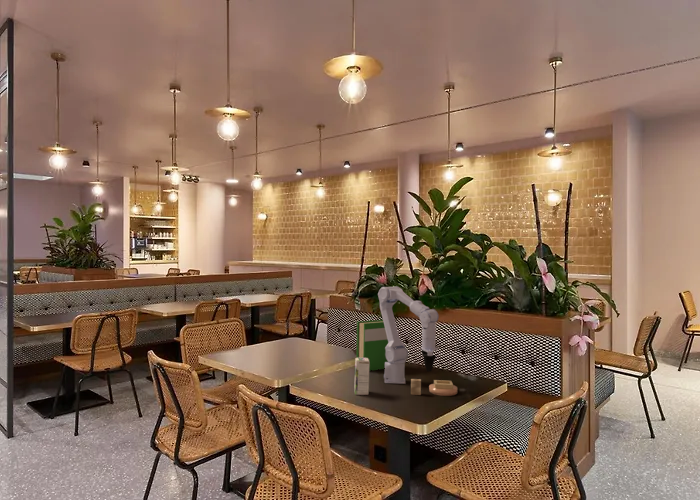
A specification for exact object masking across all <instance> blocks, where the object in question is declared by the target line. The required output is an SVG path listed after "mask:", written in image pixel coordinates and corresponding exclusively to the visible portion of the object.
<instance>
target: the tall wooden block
mask: <svg viewBox="0 0 700 500" xmlns="http://www.w3.org/2000/svg"><path fill="white" fill-rule="evenodd" d="M421 389H422V379H421V378H419V379H417V378H411V379H410V395H411V396H413V395H414V396H415V395H416V396H421V395H422V390H421Z"/></svg>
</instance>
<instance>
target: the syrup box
mask: <svg viewBox="0 0 700 500" xmlns="http://www.w3.org/2000/svg"><path fill="white" fill-rule="evenodd" d="M354 359H355V360H354V362H355V363H354V383H353V384H354V388H353V389H354V390H353V391H354V395H355V396H360V395H361V396H364V395H365V396H366V395H367V396H368V395H369V391H370V388H369V387H370V371H369V359H368V358H357V357H355V358H354Z"/></svg>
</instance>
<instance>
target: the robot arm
mask: <svg viewBox="0 0 700 500" xmlns="http://www.w3.org/2000/svg"><path fill="white" fill-rule="evenodd" d="M377 296H378V300H379V309H380V313H381V317H382V320H383V322H384V326H385V330H386V335H387V339H388V344H387V346H386V347H385V349H386V359H387V361H388V362H385V369H384V374H383V379H384V383H385V384H399V385H400V384H401V385H403V384H405V385H406V378H405V368H406V367H405V365H406V364H405V363H406V362H407V361H406V360H407V359H408V358H409V351H408V349H407V346H406V345H405V343H404V341H402V340H400V336H399V332H398V327H397V322H396V319H395V316H394V312H393V306H394V305H395V304H396V303H397V302H398V301H400V302H401V303H402V304H404V305H406V306H407V307H409V311H410V312H411V313H413V314H414V315H415V316H416V317H418V318H419V320H420V323H421V329H422V330H421V337H422V339H421V350H420V351H421V354H422V357H423V362H424V367H425V371H426V372H433V368H434V363H435V361H436V358H437V355H435V354H434V353H435V351H439V347H436V336H437V334H436V331H437V325H436V323H437V322H438V320H439V316H440V315H439V313H438V311H437V310H436V309H435V308H432V309H430V307H429V306H426V305H425V304H423V301H421V300H414V299H413V298H411V297H410V296H409V295H407V294H406V293H405V292H404V291H403V288H401V287H399V286H396V285H395V286H381V288H380V289H379V290H378V293H377Z"/></svg>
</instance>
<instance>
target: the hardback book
mask: <svg viewBox="0 0 700 500" xmlns="http://www.w3.org/2000/svg"><path fill="white" fill-rule="evenodd" d="M387 344H388V339H387V335H386V330H385V326H384V322H383V319H376V320H375V319H372V320H361V321H356V358H368V359H369V372H370V371H371V370H372V371H378V369H379V370H385V369H384V368H385V362H388V361H387V359H386V349H385V347H386V346H387ZM372 371H371V372H372Z"/></svg>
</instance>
